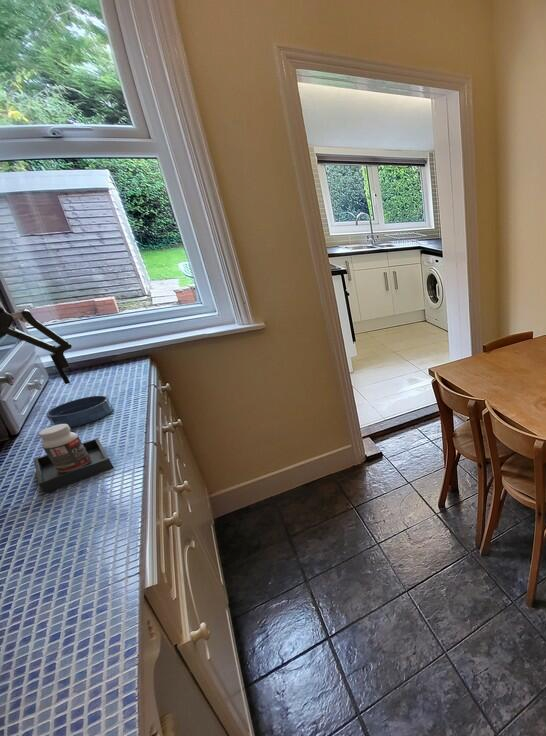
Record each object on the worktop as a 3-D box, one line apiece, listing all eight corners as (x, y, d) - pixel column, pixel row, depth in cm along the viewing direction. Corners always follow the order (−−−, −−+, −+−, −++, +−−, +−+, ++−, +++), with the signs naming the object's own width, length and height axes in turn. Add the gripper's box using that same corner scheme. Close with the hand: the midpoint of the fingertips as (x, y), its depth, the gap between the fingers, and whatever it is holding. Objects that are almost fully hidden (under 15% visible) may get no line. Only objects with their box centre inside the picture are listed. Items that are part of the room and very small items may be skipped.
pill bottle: (88, 467, 94) (67, 430, 90) (54, 476, 91) (30, 438, 87) (94, 455, 98) (73, 420, 94) (62, 464, 96) (39, 428, 92)
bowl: (55, 433, 111) (47, 421, 109) (52, 420, 119) (44, 408, 117) (116, 415, 120) (110, 402, 118) (109, 403, 128) (103, 391, 126)
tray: (39, 468, 96) (33, 459, 95) (102, 446, 104) (97, 437, 102) (45, 493, 87) (38, 483, 86) (113, 467, 94) (108, 458, 93)
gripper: (-158, 307, 67) (-77, 421, 76) (57, 282, 84) (103, 377, 92) (-148, 302, 71) (-72, 410, 80) (54, 279, 88) (99, 370, 97)
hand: (22, 393), depth 86 cm, fingers open, 13 cm apart
